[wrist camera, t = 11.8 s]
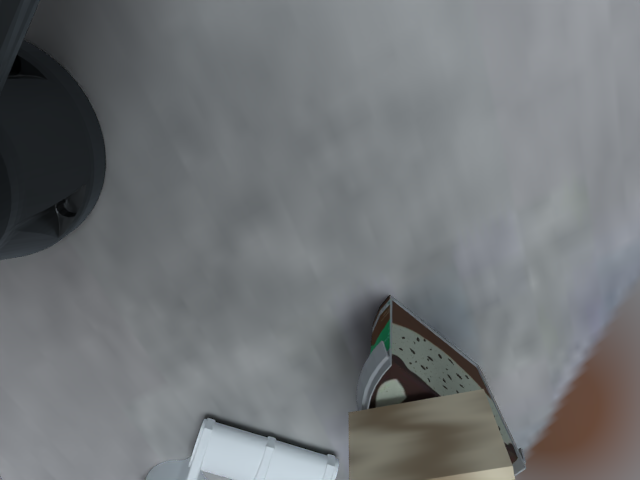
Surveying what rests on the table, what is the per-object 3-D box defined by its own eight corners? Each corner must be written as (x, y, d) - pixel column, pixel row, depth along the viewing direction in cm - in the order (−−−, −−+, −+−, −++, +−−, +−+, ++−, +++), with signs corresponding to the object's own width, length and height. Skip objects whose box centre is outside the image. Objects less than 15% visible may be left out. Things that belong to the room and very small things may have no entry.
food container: (321, 337, 43) (314, 424, 34) (375, 282, 41) (383, 359, 32) (436, 423, 46) (460, 527, 36) (492, 376, 44) (532, 473, 34)
